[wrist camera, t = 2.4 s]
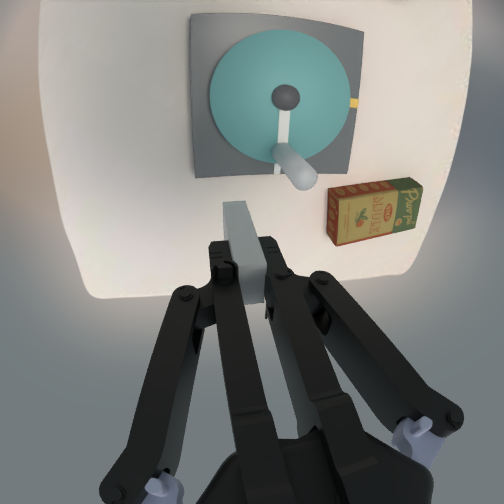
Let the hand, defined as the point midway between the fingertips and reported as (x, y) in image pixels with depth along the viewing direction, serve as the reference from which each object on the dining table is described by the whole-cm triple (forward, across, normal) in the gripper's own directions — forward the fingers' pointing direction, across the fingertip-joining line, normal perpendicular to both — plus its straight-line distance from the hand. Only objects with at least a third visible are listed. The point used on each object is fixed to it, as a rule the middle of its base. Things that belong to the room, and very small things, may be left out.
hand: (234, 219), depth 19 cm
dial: (+15, +7, +7) cm, 18 cm away
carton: (+18, +24, -9) cm, 31 cm away
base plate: (+17, +7, +7) cm, 20 cm away
